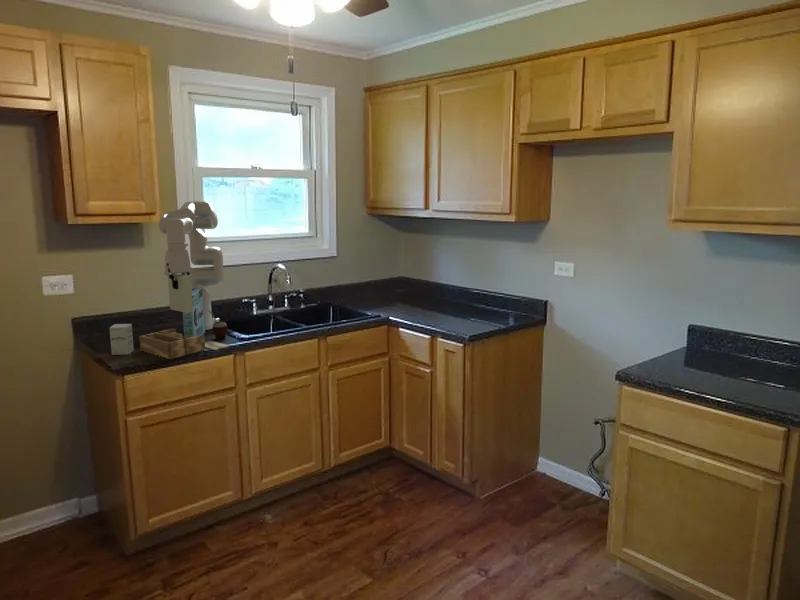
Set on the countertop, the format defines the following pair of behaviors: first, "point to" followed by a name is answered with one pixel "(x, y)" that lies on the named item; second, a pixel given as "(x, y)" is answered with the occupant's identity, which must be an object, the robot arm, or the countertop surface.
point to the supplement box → (121, 339)
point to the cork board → (215, 345)
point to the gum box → (195, 316)
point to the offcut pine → (175, 334)
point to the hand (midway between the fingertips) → (179, 287)
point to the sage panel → (181, 294)
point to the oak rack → (170, 344)
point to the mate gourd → (219, 329)
